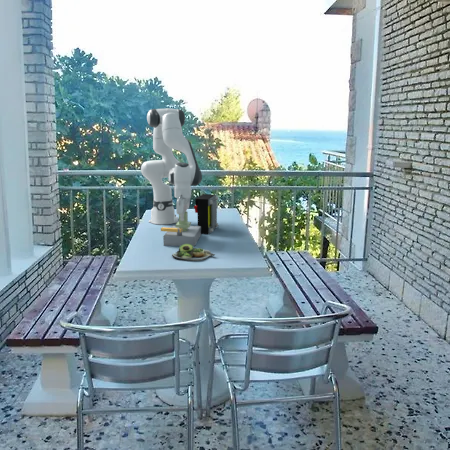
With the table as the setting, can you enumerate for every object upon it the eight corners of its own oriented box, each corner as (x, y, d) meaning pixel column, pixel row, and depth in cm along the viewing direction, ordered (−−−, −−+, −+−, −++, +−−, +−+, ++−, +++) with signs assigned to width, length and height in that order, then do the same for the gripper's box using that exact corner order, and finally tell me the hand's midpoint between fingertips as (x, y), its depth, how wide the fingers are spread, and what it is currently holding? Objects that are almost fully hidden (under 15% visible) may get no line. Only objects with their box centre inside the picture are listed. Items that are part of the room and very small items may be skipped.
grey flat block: (172, 234, 259) (172, 225, 258) (201, 235, 258) (200, 226, 257) (163, 245, 236) (163, 235, 235) (194, 246, 234) (194, 236, 233)
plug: (178, 230, 252) (177, 210, 249) (190, 230, 251) (190, 211, 249) (175, 233, 245) (175, 213, 243) (188, 233, 244) (188, 213, 242)
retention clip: (160, 234, 237) (160, 228, 236) (162, 233, 240) (162, 227, 239) (181, 235, 234) (180, 229, 234) (182, 234, 237) (182, 228, 236)
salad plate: (221, 253, 222) (221, 244, 221) (206, 264, 206) (206, 254, 205) (185, 249, 229) (185, 240, 228) (168, 259, 213) (167, 249, 212)
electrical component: (212, 234, 259) (211, 199, 255) (194, 233, 261) (194, 198, 257) (218, 227, 276) (218, 194, 271) (202, 227, 278) (201, 194, 273)
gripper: (185, 197, 233) (185, 223, 236) (191, 191, 253) (192, 215, 256) (173, 196, 234) (173, 223, 237) (180, 190, 253) (180, 215, 257)
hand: (183, 219), depth 247 cm, fingers closed on plug, 4 cm apart
